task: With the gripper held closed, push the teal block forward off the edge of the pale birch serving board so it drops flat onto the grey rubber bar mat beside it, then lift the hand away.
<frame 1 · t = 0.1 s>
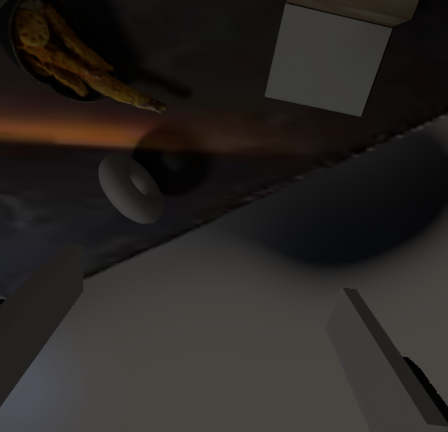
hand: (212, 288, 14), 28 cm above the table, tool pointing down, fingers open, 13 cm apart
fried shrimp in bowl: (96, 68, 36), on the table
donut: (144, 177, 41), on the table
bar mat: (324, 64, 35), on the table
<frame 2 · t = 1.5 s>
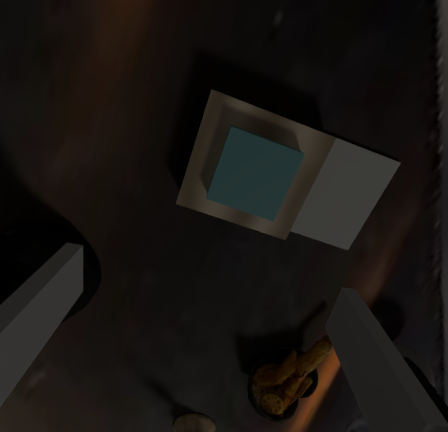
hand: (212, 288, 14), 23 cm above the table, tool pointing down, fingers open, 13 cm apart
fried shrimp in bowl: (287, 353, 48), on the table
teal block: (252, 172, 32), point 4 cm above the table, touching serving board
hand bell: (194, 425, 56), on the table
serving board: (249, 164, 35), on the table
donut: (376, 344, 47), on the table
bar mat: (337, 196, 37), on the table
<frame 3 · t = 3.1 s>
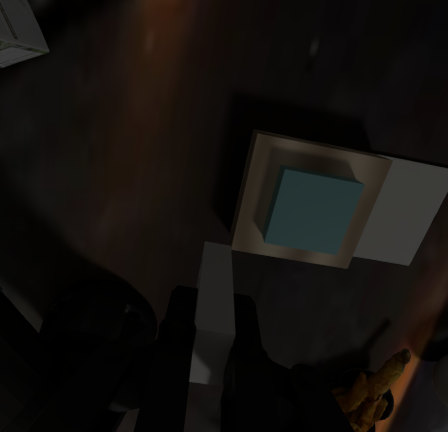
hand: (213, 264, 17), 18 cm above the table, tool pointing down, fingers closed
syrup box: (13, 30, 28), on the table
fried shrimp in bowl: (353, 374, 46), on the table
teal block: (306, 207, 30), point 4 cm above the table, touching serving board
serving board: (297, 195, 34), on the table
donut: (447, 354, 45), on the table
bar mat: (392, 213, 35), on the table
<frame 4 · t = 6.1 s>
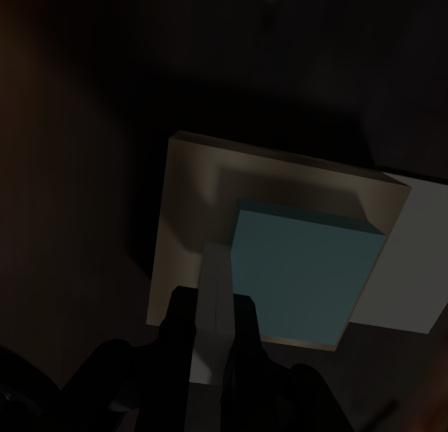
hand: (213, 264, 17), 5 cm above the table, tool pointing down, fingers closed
teal block: (285, 266, 18), point 4 cm above the table, touching gripper, serving board
serving board: (258, 234, 22), on the table
bar mat: (405, 260, 23), on the table
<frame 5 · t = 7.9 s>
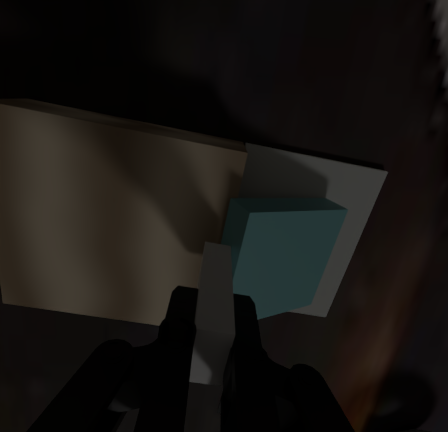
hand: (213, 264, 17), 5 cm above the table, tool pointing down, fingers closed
teal block: (267, 251, 20), point 2 cm above the table, tilted 29°, touching bar mat, gripper
serving board: (131, 211, 21), on the table
donut: (398, 430, 32), on the table
bar mat: (290, 239, 22), on the table
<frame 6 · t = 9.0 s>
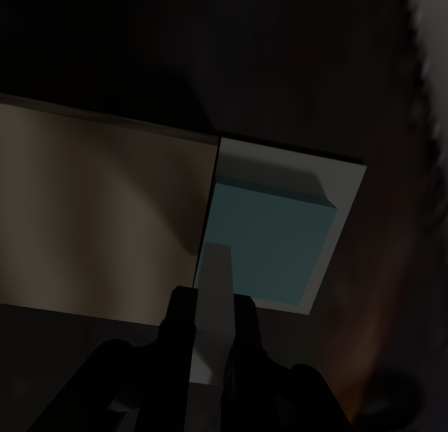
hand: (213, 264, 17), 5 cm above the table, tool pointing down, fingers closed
teal block: (257, 236, 21), resting on bar mat
serving board: (108, 207, 21), on the table
donut: (386, 430, 31), on the table
bar mat: (270, 235, 22), on the table
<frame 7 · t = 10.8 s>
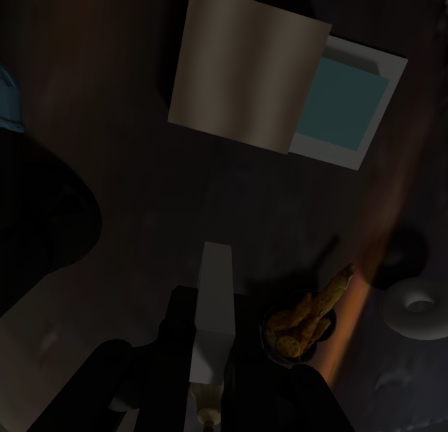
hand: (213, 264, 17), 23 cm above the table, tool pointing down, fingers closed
fried shrimp in bowl: (302, 299, 45), on the table
teal block: (334, 106, 34), resting on bar mat
hand bell: (211, 387, 54), on the table
serving board: (243, 79, 33), on the table
donut: (399, 283, 43), on the table
bar mat: (340, 107, 34), on the table
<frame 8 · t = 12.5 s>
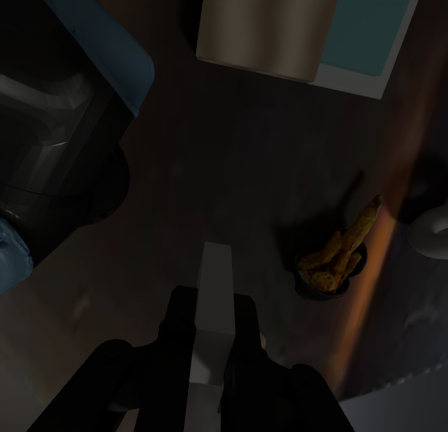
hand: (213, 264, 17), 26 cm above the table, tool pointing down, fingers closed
fried shrimp in bowl: (329, 240, 46), on the table
teal block: (355, 32, 34), resting on bar mat
serving board: (265, 11, 34), on the table
donut: (424, 215, 44), on the table
bar mat: (361, 34, 35), on the table
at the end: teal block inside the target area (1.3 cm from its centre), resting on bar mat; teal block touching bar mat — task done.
